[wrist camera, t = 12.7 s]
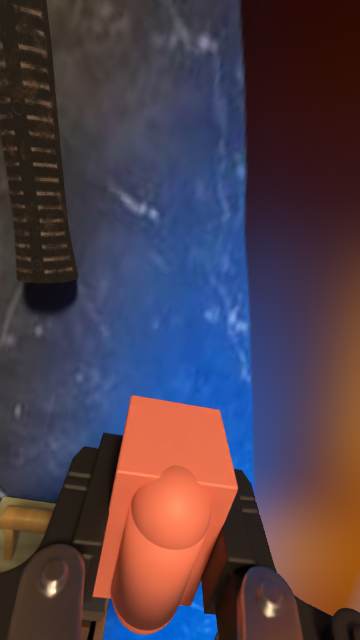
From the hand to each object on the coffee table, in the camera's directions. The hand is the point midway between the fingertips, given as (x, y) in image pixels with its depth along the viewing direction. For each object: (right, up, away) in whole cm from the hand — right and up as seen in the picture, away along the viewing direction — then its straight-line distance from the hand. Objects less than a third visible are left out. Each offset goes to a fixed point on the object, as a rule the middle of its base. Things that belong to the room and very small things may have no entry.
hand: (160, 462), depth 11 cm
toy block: (0, 0, 0) cm, 0 cm away
